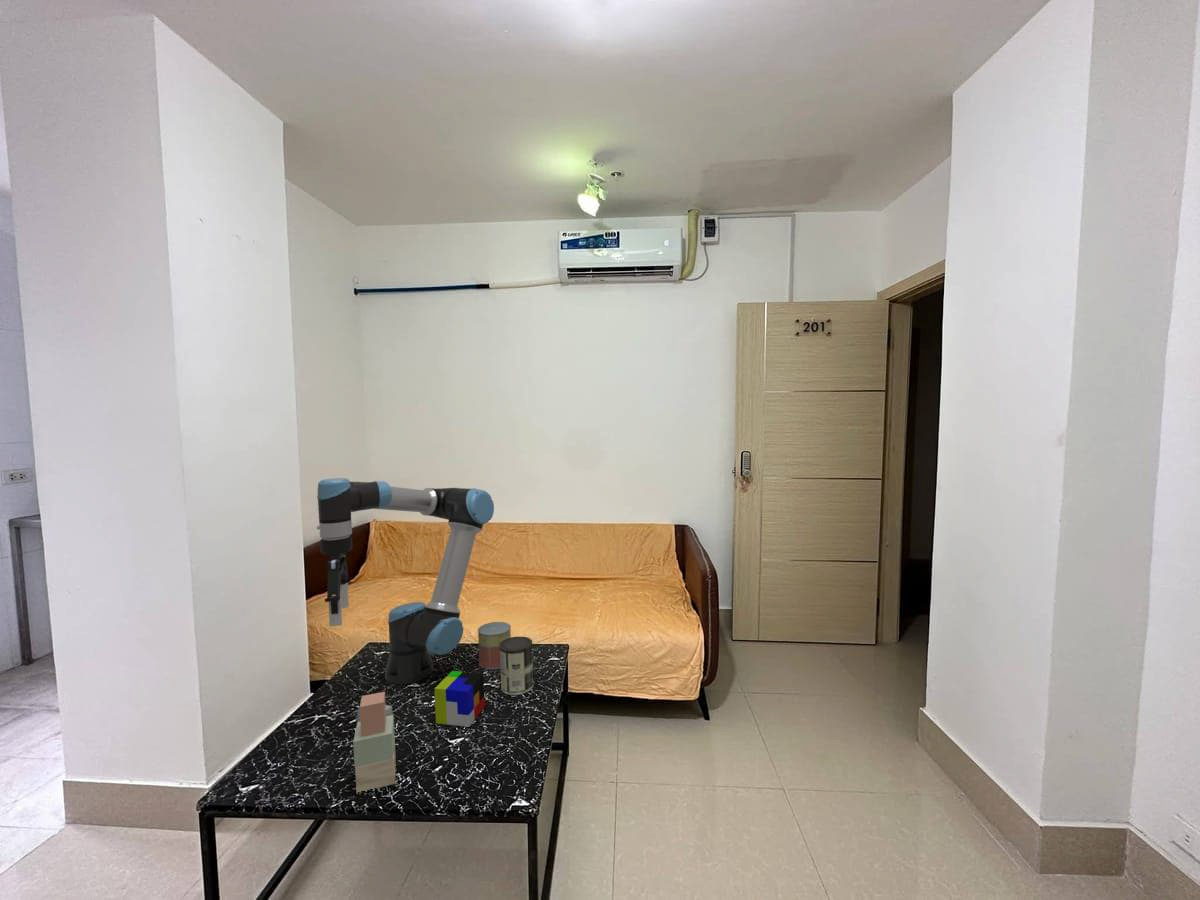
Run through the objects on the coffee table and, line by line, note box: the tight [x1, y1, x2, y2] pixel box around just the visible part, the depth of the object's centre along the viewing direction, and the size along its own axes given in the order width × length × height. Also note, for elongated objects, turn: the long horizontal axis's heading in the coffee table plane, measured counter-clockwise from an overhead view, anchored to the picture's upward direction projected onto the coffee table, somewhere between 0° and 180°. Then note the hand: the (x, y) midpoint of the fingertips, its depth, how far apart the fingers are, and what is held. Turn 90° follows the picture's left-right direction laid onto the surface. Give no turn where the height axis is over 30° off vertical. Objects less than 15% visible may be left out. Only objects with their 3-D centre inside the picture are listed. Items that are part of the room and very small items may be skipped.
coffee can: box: [499, 636, 535, 696], centre depth 156 cm, size 10×10×14 cm
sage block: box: [352, 714, 396, 769], centre depth 116 cm, size 8×8×6 cm
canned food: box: [477, 621, 512, 670], centre depth 173 cm, size 11×11×12 cm
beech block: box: [354, 738, 397, 794], centre depth 116 cm, size 8×8×6 cm
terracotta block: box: [359, 691, 387, 737], centre depth 115 cm, size 5×5×7 cm
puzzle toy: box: [434, 670, 486, 728], centre depth 141 cm, size 10×10×10 cm
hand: (339, 616), depth 131 cm, fingers open, 13 cm apart
